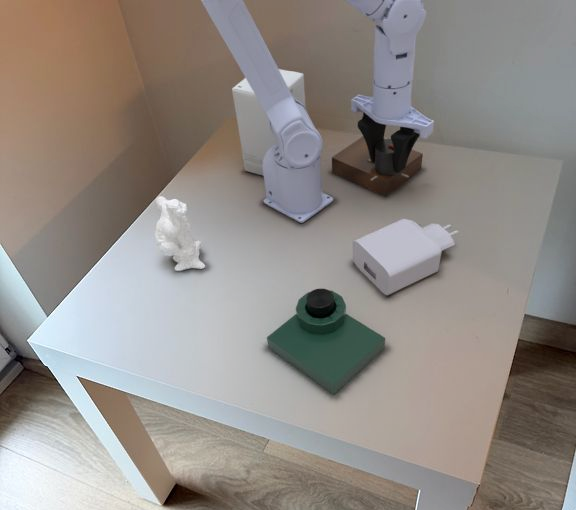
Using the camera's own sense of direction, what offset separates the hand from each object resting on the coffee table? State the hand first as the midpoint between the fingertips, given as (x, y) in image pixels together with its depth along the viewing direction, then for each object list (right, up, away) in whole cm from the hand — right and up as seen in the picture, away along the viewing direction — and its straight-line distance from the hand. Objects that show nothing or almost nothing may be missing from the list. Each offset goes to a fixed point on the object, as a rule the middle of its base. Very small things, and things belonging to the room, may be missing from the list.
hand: (388, 164), depth 90 cm
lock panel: (-1, 0, +5) cm, 5 cm away
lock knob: (0, 0, +1) cm, 1 cm away
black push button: (-12, -27, -18) cm, 34 cm away
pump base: (-12, -32, -18) cm, 38 cm away
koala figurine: (-33, -17, -4) cm, 37 cm away
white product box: (-19, +4, +10) cm, 22 cm away
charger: (+2, -18, -9) cm, 20 cm away
